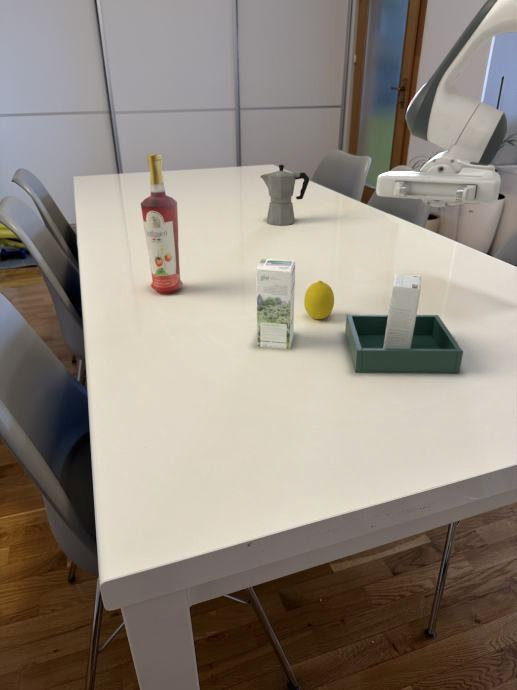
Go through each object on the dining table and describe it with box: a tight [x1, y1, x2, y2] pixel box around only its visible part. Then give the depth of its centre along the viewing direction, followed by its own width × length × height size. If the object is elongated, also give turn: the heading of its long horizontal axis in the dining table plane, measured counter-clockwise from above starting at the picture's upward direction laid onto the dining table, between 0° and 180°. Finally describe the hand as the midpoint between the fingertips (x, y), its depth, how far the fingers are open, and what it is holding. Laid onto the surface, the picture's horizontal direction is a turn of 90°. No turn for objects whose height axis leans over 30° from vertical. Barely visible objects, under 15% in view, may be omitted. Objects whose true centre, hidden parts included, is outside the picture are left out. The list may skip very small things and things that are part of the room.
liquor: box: [140, 153, 184, 295], centre depth 106 cm, size 7×7×28 cm
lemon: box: [303, 280, 335, 320], centre depth 95 cm, size 6×6×8 cm
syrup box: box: [255, 258, 296, 350], centre depth 85 cm, size 6×6×14 cm
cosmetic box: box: [383, 273, 422, 349], centre depth 81 cm, size 6×4×12 cm
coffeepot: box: [260, 164, 310, 226], centre depth 164 cm, size 15×9×18 cm, turn 87°
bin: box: [344, 313, 464, 375], centre depth 83 cm, size 16×14×4 cm
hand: (430, 194), depth 83 cm, fingers open, 8 cm apart
